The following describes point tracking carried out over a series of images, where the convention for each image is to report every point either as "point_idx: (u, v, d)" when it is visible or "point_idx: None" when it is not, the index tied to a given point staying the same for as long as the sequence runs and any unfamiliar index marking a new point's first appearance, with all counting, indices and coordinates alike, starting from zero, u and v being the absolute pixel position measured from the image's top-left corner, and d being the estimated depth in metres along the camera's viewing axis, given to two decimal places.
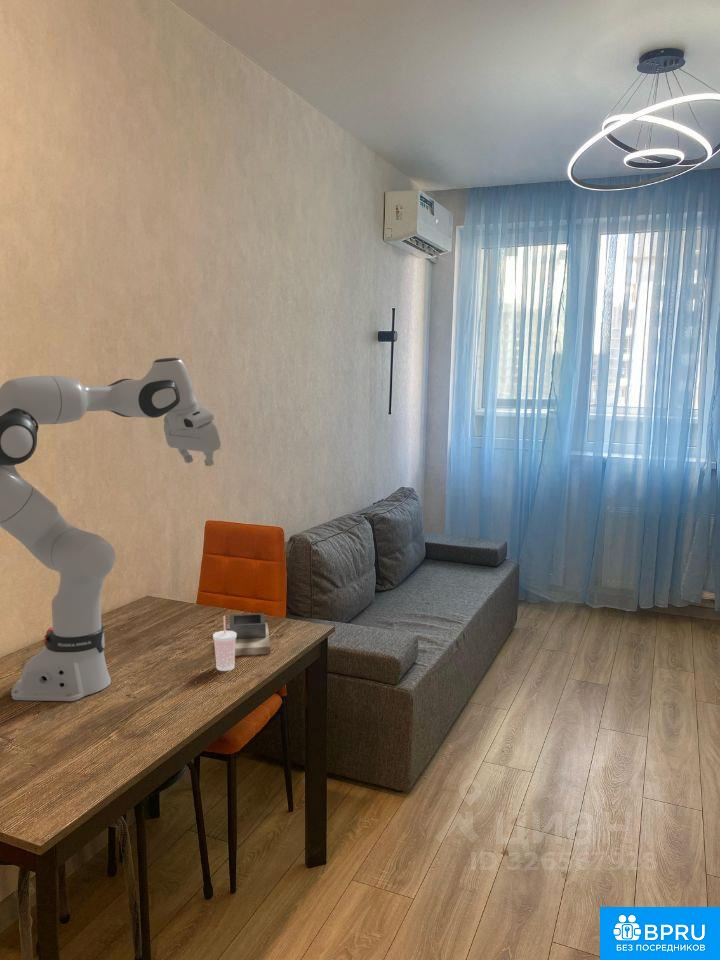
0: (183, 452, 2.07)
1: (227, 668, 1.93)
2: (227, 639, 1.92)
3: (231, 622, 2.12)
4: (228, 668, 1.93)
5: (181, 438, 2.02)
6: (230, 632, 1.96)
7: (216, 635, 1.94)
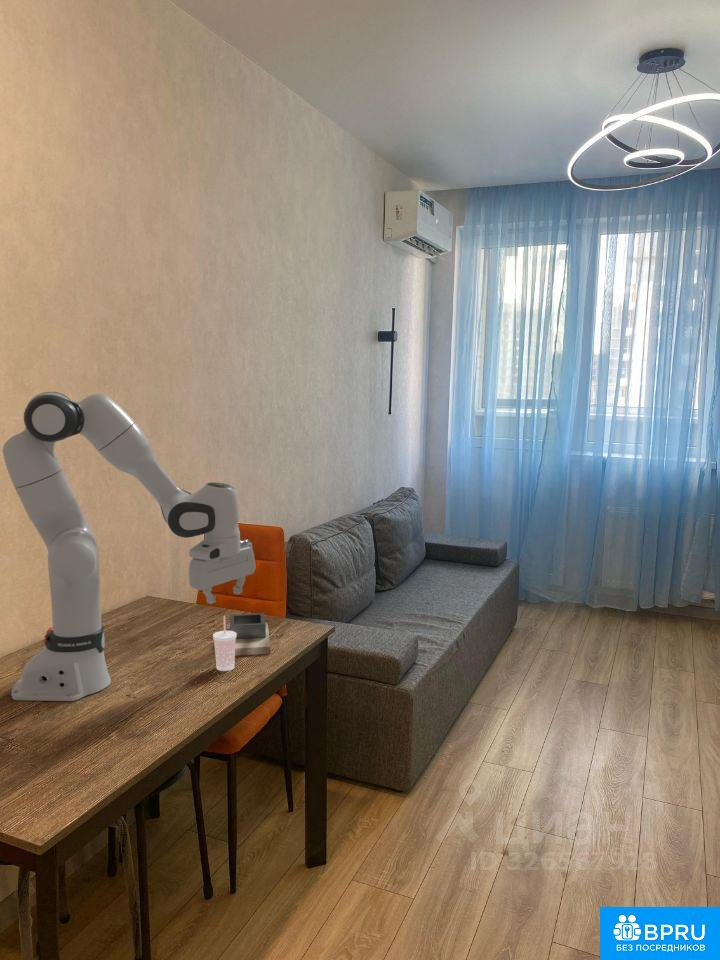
0: (238, 581, 1.97)
1: (227, 668, 1.93)
2: (227, 639, 1.92)
3: (231, 622, 2.12)
4: (228, 668, 1.93)
5: None
6: (230, 632, 1.96)
7: (216, 635, 1.94)
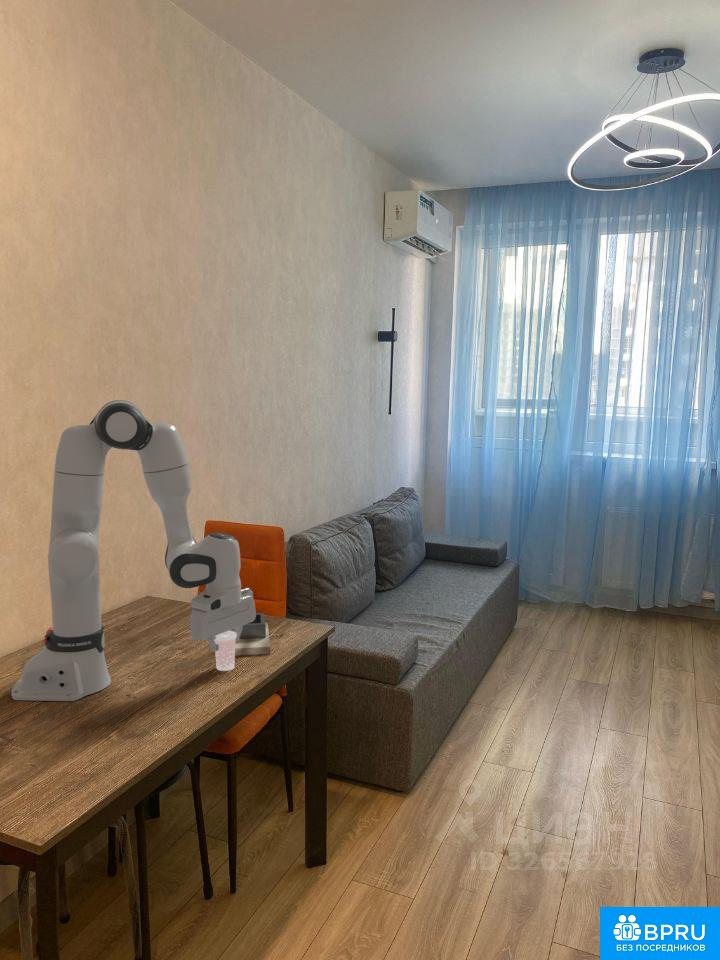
0: (236, 630, 1.98)
1: (227, 668, 1.93)
2: (227, 639, 1.92)
3: None
4: (228, 668, 1.93)
5: None
6: (230, 632, 1.96)
7: (216, 635, 1.94)
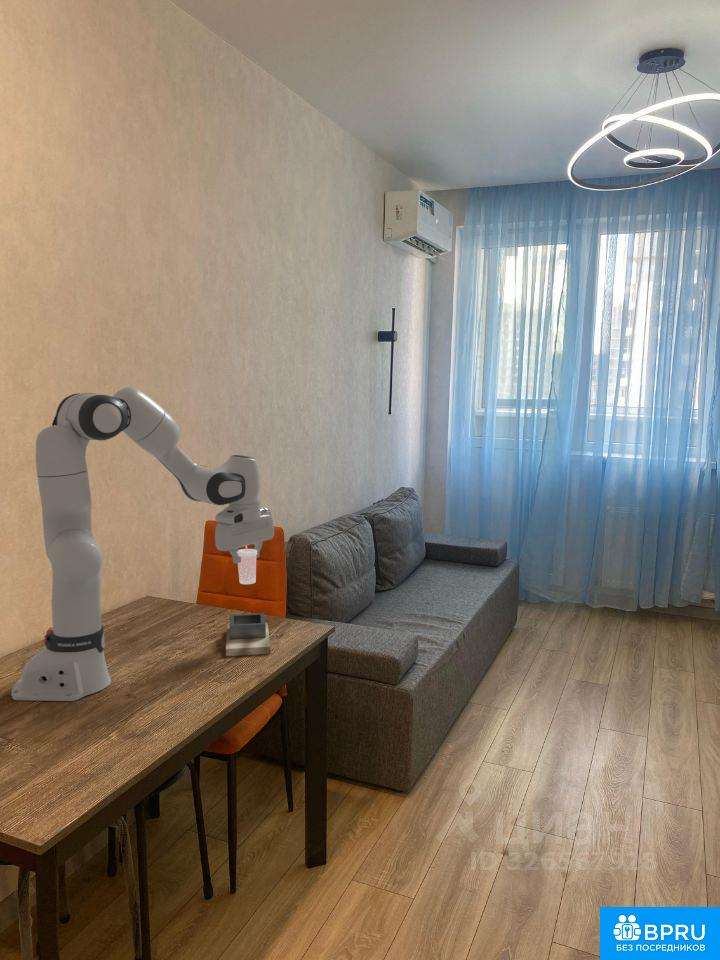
0: (256, 546, 2.16)
1: (249, 582, 2.11)
2: (249, 554, 2.09)
3: (231, 622, 2.12)
4: (250, 582, 2.11)
5: None
6: (251, 550, 2.14)
7: (239, 552, 2.11)
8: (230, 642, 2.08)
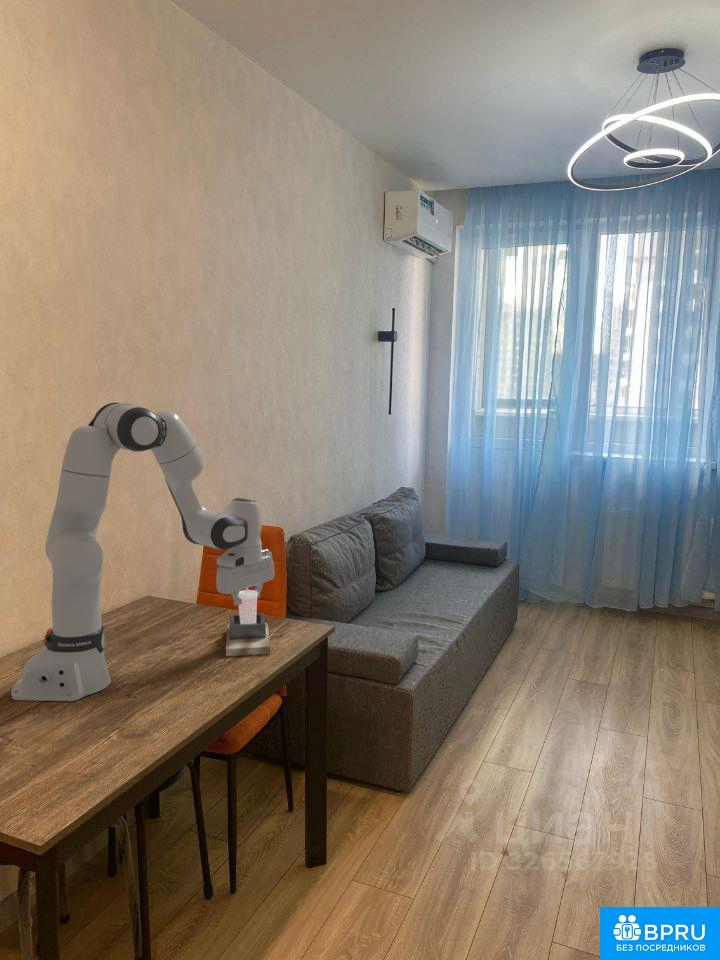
0: (256, 587, 2.18)
1: (250, 623, 2.13)
2: (250, 596, 2.11)
3: (231, 622, 2.12)
4: (251, 623, 2.13)
5: None
6: (252, 591, 2.16)
7: (239, 594, 2.13)
8: (230, 642, 2.08)
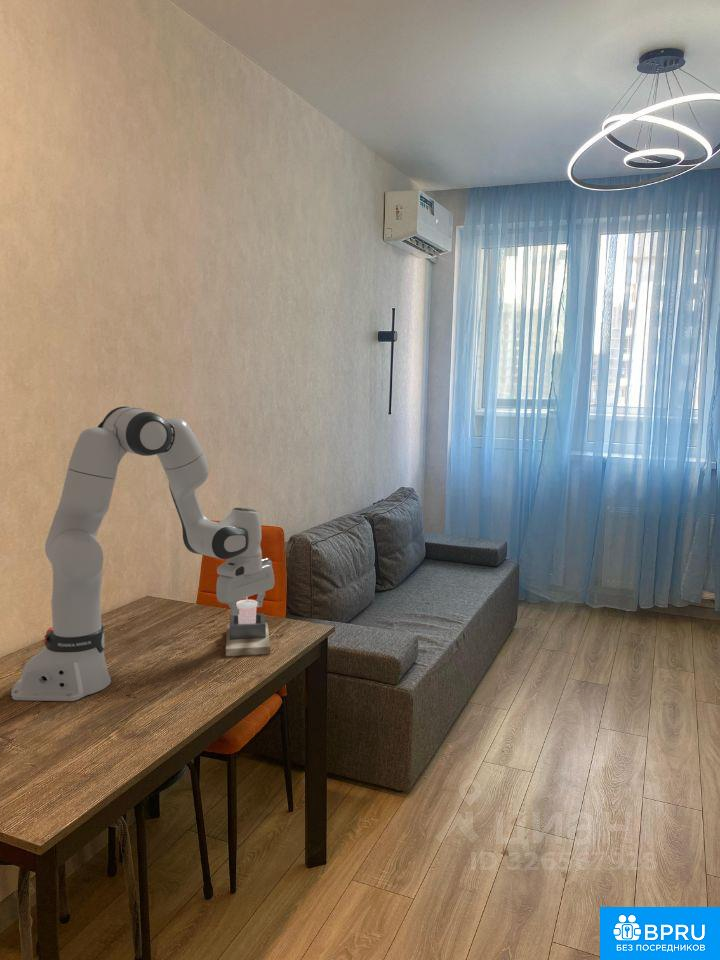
0: (259, 595, 2.19)
1: None
2: (250, 606, 2.12)
3: (231, 622, 2.12)
4: None
5: None
6: (251, 601, 2.16)
7: (239, 603, 2.14)
8: (230, 642, 2.08)
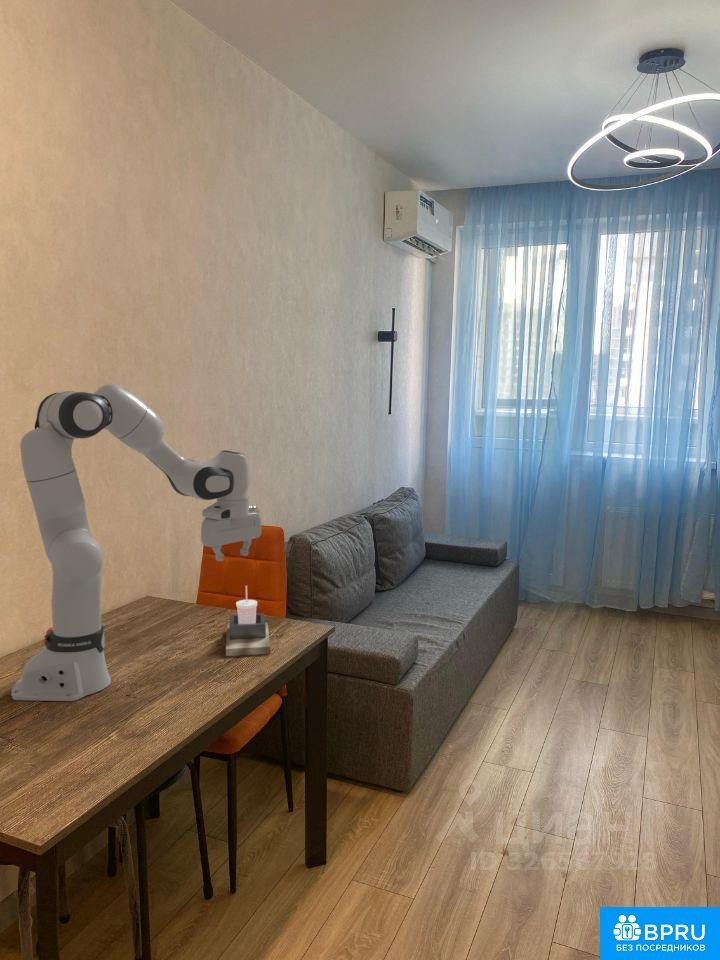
0: (245, 543, 2.14)
1: None
2: (249, 606, 2.12)
3: (231, 622, 2.12)
4: None
5: None
6: (251, 601, 2.16)
7: (239, 603, 2.14)
8: (230, 642, 2.08)
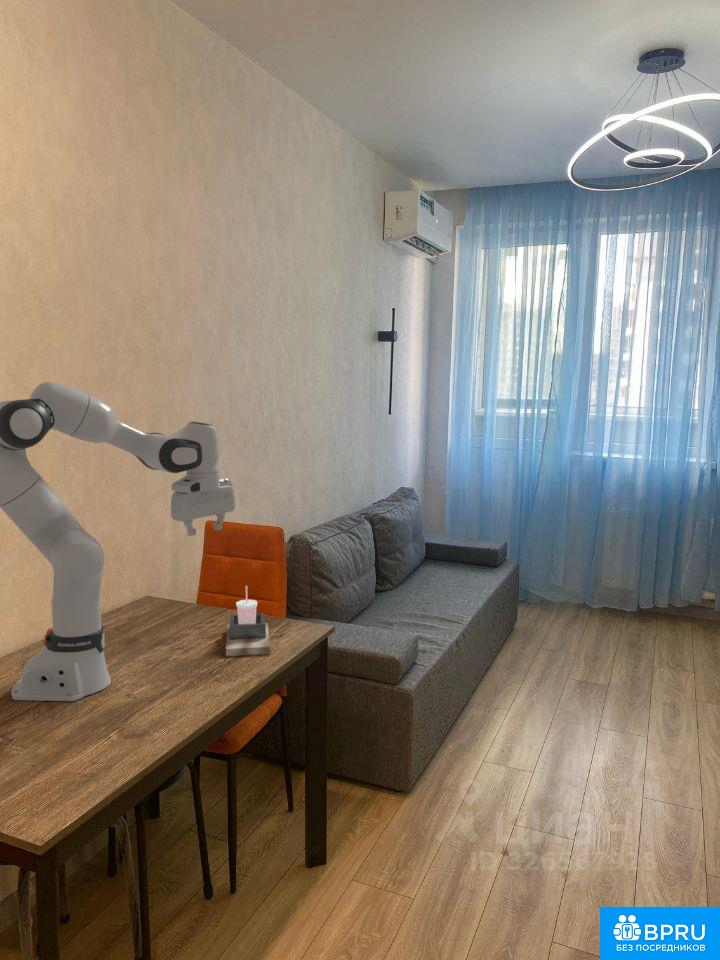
0: (218, 518, 2.08)
1: None
2: (249, 606, 2.12)
3: (231, 622, 2.12)
4: None
5: None
6: (251, 601, 2.16)
7: (239, 603, 2.14)
8: (230, 642, 2.08)
